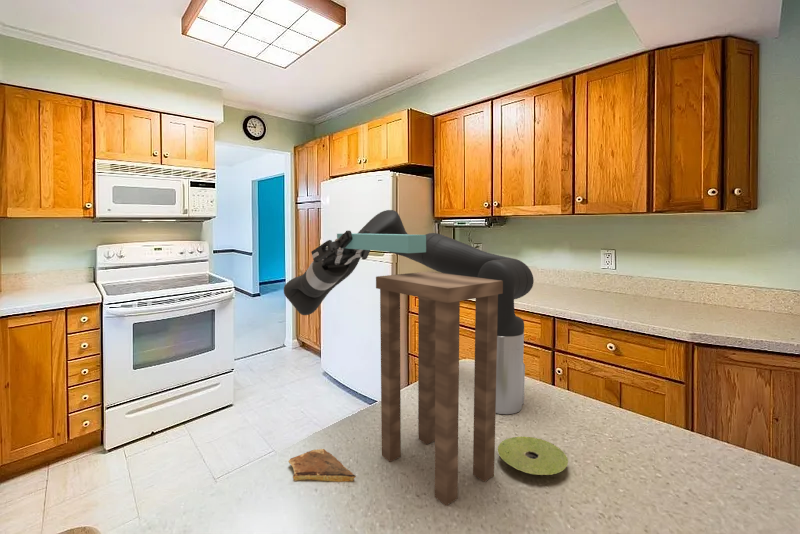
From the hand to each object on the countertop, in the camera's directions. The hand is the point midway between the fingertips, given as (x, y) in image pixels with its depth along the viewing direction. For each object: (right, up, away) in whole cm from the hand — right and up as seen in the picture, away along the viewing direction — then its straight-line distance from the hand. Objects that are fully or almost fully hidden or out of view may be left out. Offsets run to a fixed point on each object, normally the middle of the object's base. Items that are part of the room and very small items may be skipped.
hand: (359, 234), depth 80 cm
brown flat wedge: (-5, -41, -14) cm, 44 cm away
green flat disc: (+31, -41, -14) cm, 53 cm away
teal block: (+4, -3, -4) cm, 7 cm away
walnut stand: (+14, -40, -14) cm, 45 cm away
